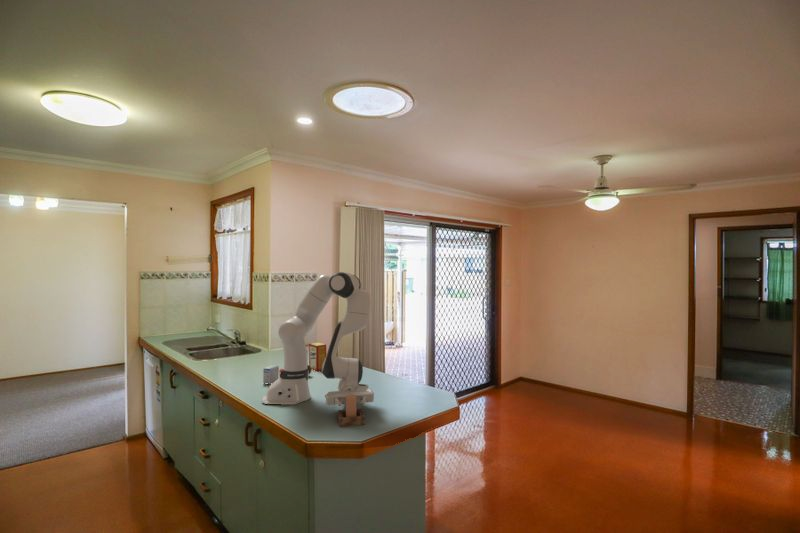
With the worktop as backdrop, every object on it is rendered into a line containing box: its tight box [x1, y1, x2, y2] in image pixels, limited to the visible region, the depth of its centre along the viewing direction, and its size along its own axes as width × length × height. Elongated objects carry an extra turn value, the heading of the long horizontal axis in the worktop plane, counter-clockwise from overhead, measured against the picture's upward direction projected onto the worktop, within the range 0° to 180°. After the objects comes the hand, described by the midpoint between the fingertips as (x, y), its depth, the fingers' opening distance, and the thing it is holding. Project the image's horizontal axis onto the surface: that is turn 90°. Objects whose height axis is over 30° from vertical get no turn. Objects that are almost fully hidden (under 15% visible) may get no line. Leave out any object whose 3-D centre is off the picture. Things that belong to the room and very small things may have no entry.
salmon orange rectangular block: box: [345, 395, 357, 417], centre depth 159 cm, size 4×4×10 cm
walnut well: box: [337, 408, 366, 428], centre depth 158 cm, size 10×10×3 cm
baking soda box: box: [308, 342, 327, 372], centre depth 243 cm, size 10×6×16 cm
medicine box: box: [262, 364, 280, 384], centre depth 213 cm, size 8×4×9 cm, turn 163°
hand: (351, 403), depth 158 cm, fingers open, 8 cm apart
